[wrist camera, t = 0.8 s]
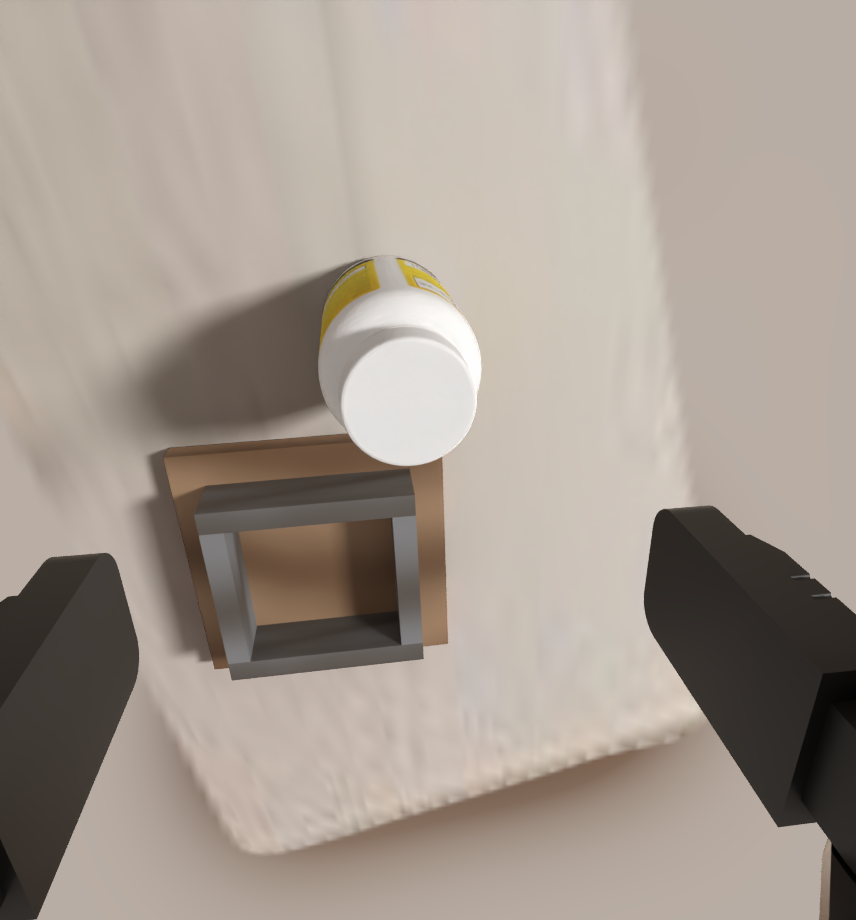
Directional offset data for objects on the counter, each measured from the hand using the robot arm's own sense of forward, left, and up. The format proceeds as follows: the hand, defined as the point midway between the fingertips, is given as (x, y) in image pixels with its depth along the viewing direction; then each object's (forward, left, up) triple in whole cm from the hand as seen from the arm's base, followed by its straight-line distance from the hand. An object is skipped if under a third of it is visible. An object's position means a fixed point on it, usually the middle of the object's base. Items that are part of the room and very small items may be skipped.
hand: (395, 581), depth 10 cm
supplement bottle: (+1, +1, -19) cm, 19 cm away
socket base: (+12, -3, -19) cm, 23 cm away
